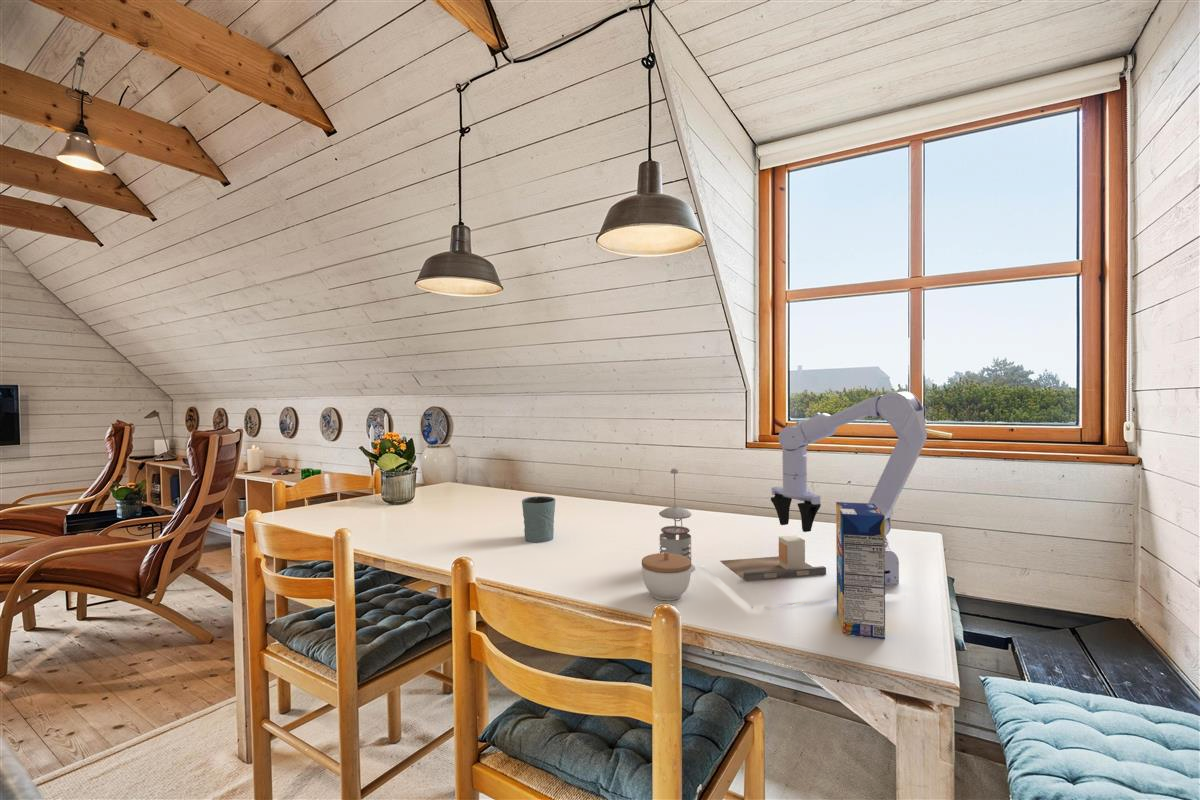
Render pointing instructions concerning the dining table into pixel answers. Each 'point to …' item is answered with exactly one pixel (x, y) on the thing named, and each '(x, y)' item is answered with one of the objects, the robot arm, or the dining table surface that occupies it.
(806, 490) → the robot arm
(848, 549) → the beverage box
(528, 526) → the teal textured cup
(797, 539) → the carton
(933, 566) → the dining table surface
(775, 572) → the shelf board
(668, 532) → the french press
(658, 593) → the lidded jar
